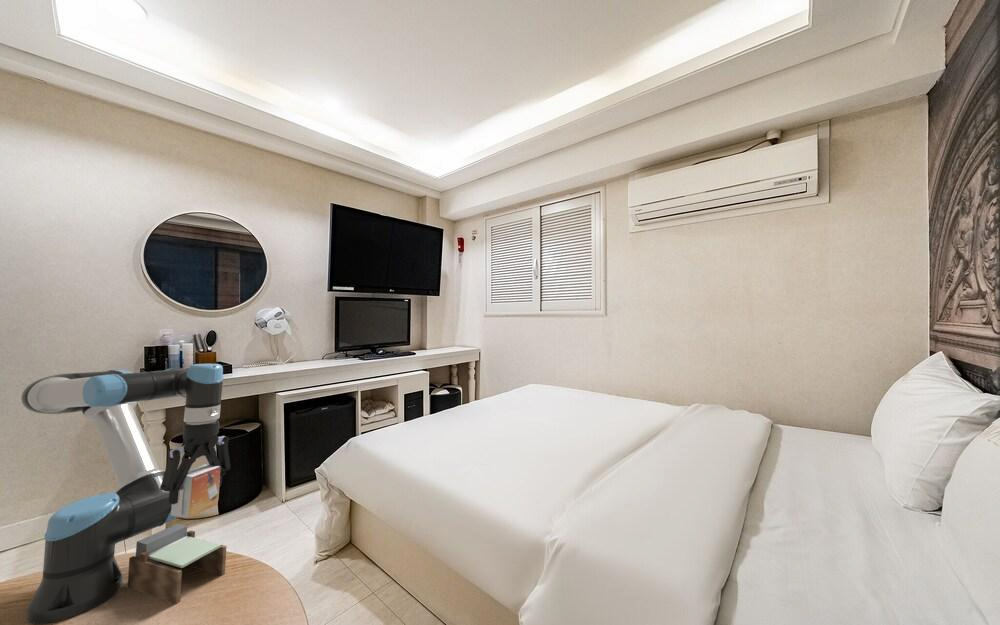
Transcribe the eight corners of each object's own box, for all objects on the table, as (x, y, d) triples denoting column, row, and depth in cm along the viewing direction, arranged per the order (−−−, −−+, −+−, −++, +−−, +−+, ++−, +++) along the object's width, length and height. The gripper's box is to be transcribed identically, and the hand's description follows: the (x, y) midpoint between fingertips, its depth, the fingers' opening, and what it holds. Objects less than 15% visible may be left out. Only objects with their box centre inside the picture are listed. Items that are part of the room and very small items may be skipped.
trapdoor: (135, 565, 94) (136, 541, 95) (176, 545, 103) (177, 523, 104) (181, 579, 89) (182, 554, 89) (220, 556, 98) (221, 534, 98)
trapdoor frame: (127, 587, 93) (129, 550, 94) (178, 560, 104) (180, 527, 105) (176, 603, 88) (178, 564, 88) (224, 573, 99) (226, 539, 99)
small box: (188, 519, 91) (191, 477, 92) (170, 516, 92) (174, 474, 93) (218, 504, 99) (221, 465, 100) (202, 501, 100) (205, 463, 101)
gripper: (165, 433, 86) (157, 530, 85) (249, 414, 106) (244, 492, 105) (144, 429, 88) (136, 524, 87) (231, 411, 108) (225, 488, 107)
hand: (195, 506), depth 96 cm, fingers closed on small box, 8 cm apart
